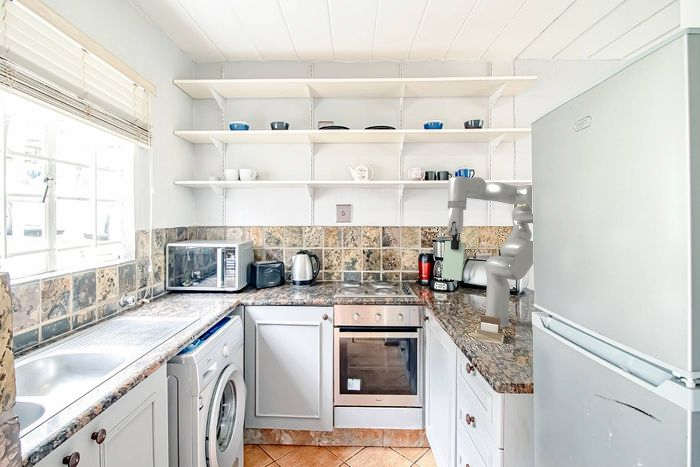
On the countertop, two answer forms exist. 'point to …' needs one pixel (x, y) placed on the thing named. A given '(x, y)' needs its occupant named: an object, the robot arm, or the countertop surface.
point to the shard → (472, 323)
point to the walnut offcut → (490, 320)
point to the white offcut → (489, 327)
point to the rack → (490, 335)
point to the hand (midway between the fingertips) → (455, 249)
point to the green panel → (453, 262)
